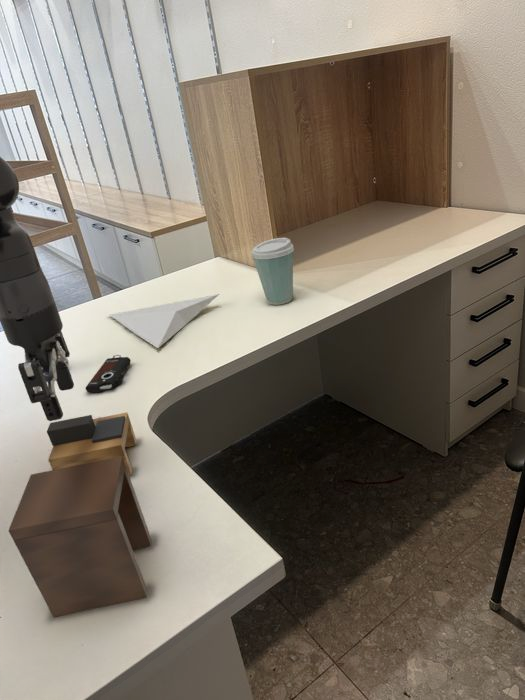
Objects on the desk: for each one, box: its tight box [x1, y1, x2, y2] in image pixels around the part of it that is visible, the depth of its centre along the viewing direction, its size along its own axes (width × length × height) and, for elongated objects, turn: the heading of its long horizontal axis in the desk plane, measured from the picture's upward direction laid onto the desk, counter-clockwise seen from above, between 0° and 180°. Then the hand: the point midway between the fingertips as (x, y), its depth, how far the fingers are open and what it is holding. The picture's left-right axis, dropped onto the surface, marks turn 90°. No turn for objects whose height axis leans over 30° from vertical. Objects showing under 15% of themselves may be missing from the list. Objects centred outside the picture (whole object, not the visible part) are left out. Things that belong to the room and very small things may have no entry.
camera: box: [84, 354, 131, 393], centre depth 111 cm, size 6×3×11 cm
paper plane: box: [109, 293, 220, 349], centre depth 135 cm, size 26×28×4 cm
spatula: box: [46, 414, 126, 447], centre depth 83 cm, size 11×5×3 cm, turn 97°
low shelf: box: [47, 411, 138, 477], centre depth 85 cm, size 11×9×6 cm
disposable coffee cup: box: [251, 237, 295, 306], centre depth 132 cm, size 11×11×15 cm
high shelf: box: [7, 456, 152, 618], centre depth 63 cm, size 11×9×14 cm
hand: (62, 403), depth 80 cm, fingers open, 8 cm apart
